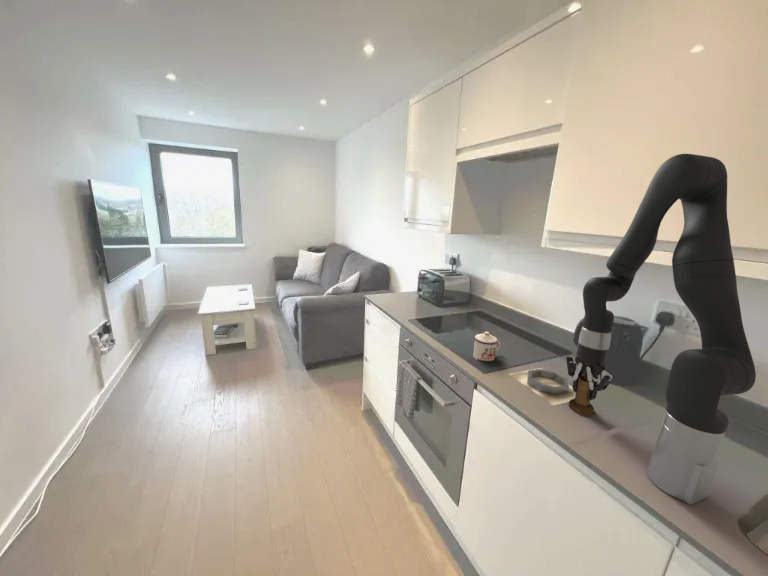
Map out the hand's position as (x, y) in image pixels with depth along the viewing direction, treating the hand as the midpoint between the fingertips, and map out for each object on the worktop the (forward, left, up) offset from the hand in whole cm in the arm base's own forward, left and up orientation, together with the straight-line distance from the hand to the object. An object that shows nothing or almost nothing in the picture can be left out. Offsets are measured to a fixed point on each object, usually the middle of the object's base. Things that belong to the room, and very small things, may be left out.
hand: (583, 395), depth 94 cm
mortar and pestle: (0, 0, -6) cm, 6 cm away
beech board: (+14, -1, -6) cm, 15 cm away
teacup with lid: (+39, +5, -6) cm, 39 cm away
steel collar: (+14, -1, -5) cm, 14 cm away
